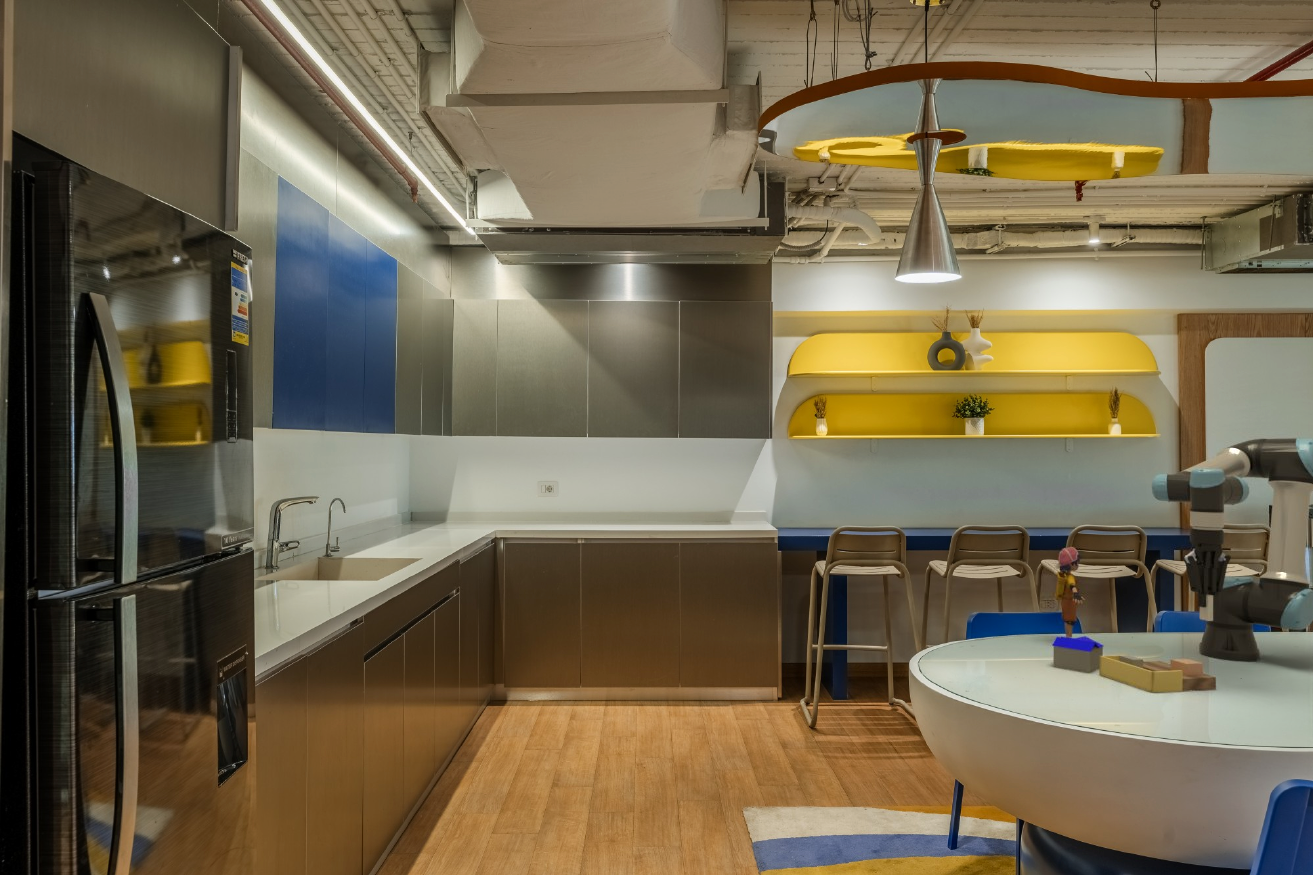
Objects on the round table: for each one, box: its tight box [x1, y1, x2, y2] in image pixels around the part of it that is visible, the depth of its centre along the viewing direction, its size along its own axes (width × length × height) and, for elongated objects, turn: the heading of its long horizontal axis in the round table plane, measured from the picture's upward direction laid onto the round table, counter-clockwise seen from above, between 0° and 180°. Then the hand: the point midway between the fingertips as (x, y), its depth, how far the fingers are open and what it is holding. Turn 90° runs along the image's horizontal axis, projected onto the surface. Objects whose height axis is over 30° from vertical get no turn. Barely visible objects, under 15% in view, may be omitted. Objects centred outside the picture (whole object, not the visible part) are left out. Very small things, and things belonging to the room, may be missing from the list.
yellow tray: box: [1098, 654, 1183, 694], centre depth 230 cm, size 9×18×5 cm, turn 14°
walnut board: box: [1143, 660, 1217, 692], centre depth 232 cm, size 10×18×3 cm, turn 14°
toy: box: [1053, 546, 1086, 638], centre depth 277 cm, size 24×7×30 cm, turn 168°
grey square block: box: [1119, 654, 1144, 668], centre depth 234 cm, size 5×5×3 cm
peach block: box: [1169, 658, 1204, 676], centre depth 229 cm, size 5×5×3 cm
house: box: [1051, 635, 1105, 674], centre depth 246 cm, size 10×11×8 cm
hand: (1206, 619), depth 232 cm, fingers closed
